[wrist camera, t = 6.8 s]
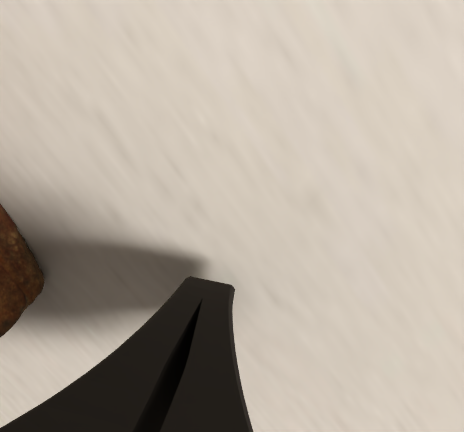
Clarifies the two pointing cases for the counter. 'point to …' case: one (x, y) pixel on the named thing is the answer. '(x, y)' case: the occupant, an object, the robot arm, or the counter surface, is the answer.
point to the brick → (15, 274)
